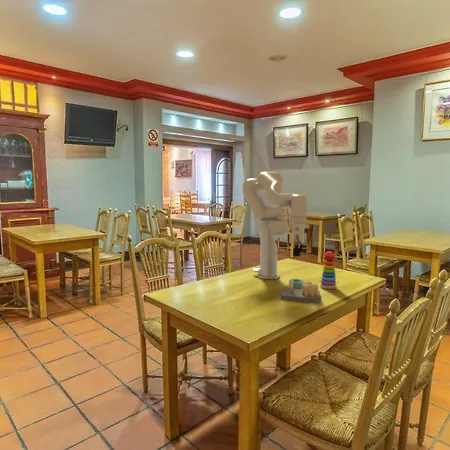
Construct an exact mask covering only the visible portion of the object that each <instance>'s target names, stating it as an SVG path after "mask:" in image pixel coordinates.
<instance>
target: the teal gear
mask: <svg viewBox="0 0 450 450" xmlns="http://www.w3.org/2000/svg"><path fill="white" fill-rule="evenodd" d="M290 280H293V288H295V289H302V283H306V282H305V281H304V279H300V278H291V279H289V280H288V288H290Z"/></svg>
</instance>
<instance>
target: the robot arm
mask: <svg viewBox="0 0 450 450" xmlns="http://www.w3.org/2000/svg"><path fill="white" fill-rule="evenodd" d="M282 190H283V175H282V174H281V173H280V172H278V171H262V172H260V173H258V175H257V176H256V178H248V179H246V180H244V181H243V183H242V193H243V196H244V198H245V200H246V201H247V203H248V204H249V206H250V208H251V211H252V213H253V215H254V216H253V217H254V218H255V219H256V221H257V222H258V223H260V224H259V226H258V234H259V245H260V247H259V249H260V250H259V251H260V252H259V253H260V254H259V256H260V259H259V260H260V261H259V263H260V264H259V265H260V266H259V267H258V268H255V267H254V268H252V272H254V273H257V278H260V279H263V280H277V279H279V278H280V276H281V275H280V273H278V244H277V242H276V241H275V239H276V238H277V239H278V238H284V237H287V236H288V235H289V234H290V226H289V223H288V221H287V219H286V217H285V215H284V213H283V211H282V209H290V223H291V224H292V243H293V249H292V252H293V253H292V256H293V257H300V256H301V253H303V244H304V242H305V224H307V211H308V210H307V206H308V205H307V204H308V203H307V201H308V197H307V195H306V194H301V193H300V194H297V193H281V192H282ZM258 193H259V194H260V193H261V194H262V193H264V194H265V193H266V195H267V200H268V203H270V205H267V204H266V202H265V200H264V198H263V197H262V196H261V195H259V194H258Z"/></svg>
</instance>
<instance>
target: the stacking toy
mask: <svg viewBox="0 0 450 450" xmlns="http://www.w3.org/2000/svg"><path fill="white" fill-rule="evenodd" d="M324 259H325V260H324V264H323V266H322V267H323V269H322V276H321V280H320V284H319V286H320V288H322V289H325V290H334V289H337V281H336V279H337V277H336V269H335V267H336V266H335V261H334V260H335V259H336V255H335V253H334V252H333V251H326V252H325V253H324Z"/></svg>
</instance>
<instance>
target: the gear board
mask: <svg viewBox="0 0 450 450" xmlns="http://www.w3.org/2000/svg"><path fill="white" fill-rule="evenodd" d="M289 280H290V288H289V287H283V289H282V291H281V293H280V296H279V298H280V300H283V301H292V302H300V303H301V302H303V303H312V304H313V303H314V304H319V301H320V295H321V290H319V284H318V283H315V282H312V281H307V282H305V283H302V289H295V288H293V280H291V279H289Z"/></svg>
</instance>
